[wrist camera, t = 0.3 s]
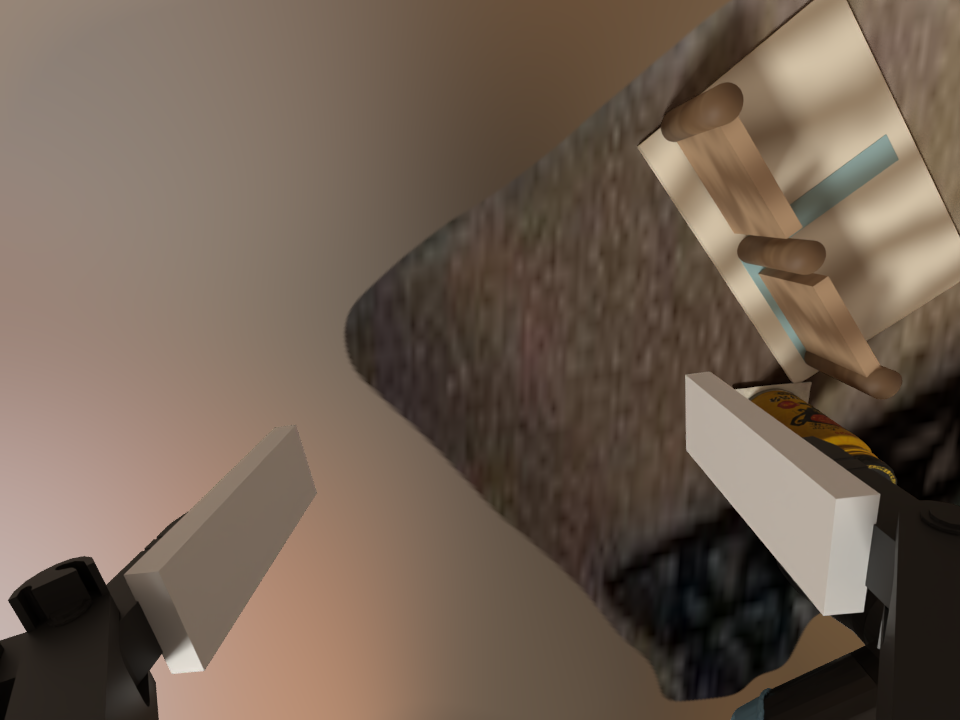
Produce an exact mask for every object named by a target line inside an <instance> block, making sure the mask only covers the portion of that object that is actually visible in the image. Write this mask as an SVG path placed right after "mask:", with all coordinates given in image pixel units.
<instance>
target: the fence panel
mask: <svg viewBox="0 0 960 720" xmlns="http://www.w3.org/2000/svg"><path fill="white" fill-rule="evenodd" d="M743 101H744V99H743V94H742V91H741V89H740V88H739V87H738V86H737V85H735V84H733V83H730V82H725V83H721V84H719V85H717V86H715V87H713V88H711V89H709V90H708V91H706V92H704V93H702V94H700V95H698V96H696V97H695V98H693V99H691V100H689V101H687V102H685V103H683V104H682V105H680V106H678V107H676V108H674V109H672V110H670V111H669V112H668V113H667V114H666V115H665V116H664V118H663V120H662V123H661V132H662V135H663V136H664V138H665V139H666V140H668V141H670V142H677V143H678V145H679V146H680V148H681V149H682V151H683V153H684V154H685V156H686V157H687V159H688V161H689V162H690V164H691V165H692V167H693V169H694V170H695V172H696V173H697V175H698V177H699V178H700V180H701V181H702V183H703V184H704V186H705V188H706V189H707V191H708V192H709V194H710V196H711V197H712V199H713V200H714V202H715V204H716V205H717V207H718V208H719V210H720V212H721V213H722V215H723V216H724V218H725V220H726V221H727V223H728V224H729V226H730V228H731V229H732V231H733V232H734V234H744V235H754V236H764V237H774V238H784V239H787V238H789V237H790V236H792V235H793V234H794V233H796V232H797V231H798V230H800V229H801V228H803V227H802V225H801V223H800V222H799V220H798V218H797V217H796V215H795V213H794V211H793V210H792V208H791V206H790V204H789V203H788V201H787V199H786V198H785V196H784V194H783V192H782V191H781V189H780V187H779V185H778V184H777V182H776V180H775V179H774V177H773V175H772V173H771V172H770V170H769V168H768V166H767V165H766V163H765V161H764V160H763V158H762V156H761V154H760V153H759V151H758V149H757V148H756V146H755V144H754V142H753V141H752V139H751V137H750V135H749V134H748V132H747V130H746V129H745V127H744V125H743V123H742V122H741V120H740V118H739V116H738V115H739V114H740V112H741V110H742V107H743Z"/></svg>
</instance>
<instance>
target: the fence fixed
mask: <svg viewBox="0 0 960 720" xmlns="http://www.w3.org/2000/svg"><path fill="white" fill-rule="evenodd" d="M737 254H738V257H739V258H740V260H741V261H743V262H745V263H748V264H753V265H758V266H763V267H767V268H765V269H764V270H762V271H761V272H760V273H758V274H759V276H760V277H761V279H762V281H763V282H764V284H765V285H766V287H767V289H768V290H769V292H770V293H771V295H772V297H773V298H774V300H775V301H776V303H777V304H778V306H779V308H780V309H781V311H782V312H783V314H784V316H785V317H786V319H787V320H788V322H789V324H790V325H791V327H792V328H793V330H794V332H795V333H796V335H797V336H798V338H799V339H800V341H801V343H802V344H803V346H804V347H805V349H806V353H805V356H804V360H805V362H806V364H807V365H808V366H810V367H813V368H815V369H817V370H819V371H821V372H823V373H825V374H827V375H829V376H831V377H833V378H835V379H837V380H839V381H841V382H843V383H845V384H847V385H849V386H851V387H854V388H856V389H858V390H860V391H862V392H864V393H866V394H868V395H870V396H872V397H874V398H876V399H887V398H889V397H891V396H893V395H894V394H896V393H897V392H898V391H899V389H900V387H901V385H902V377H901V375H900V374H899V373H898V372H896V371H893V370H891V369H888V368H886V367H883V366H881V365H880V364H879V362H878V361H877V359H876V357H875V355H874V354H873V352H872V350H871V349H870V347H869V345H868V343H867V342H866V340H865V338H864V337H863V335H862V333H861V331H860V330H859V328H858V326H857V325H856V323H855V321H854V319H853V318H852V316H851V314H850V312H849V311H848V309H847V307H846V306H845V304H844V302H843V300H842V299H841V297H840V295H839V294H838V292H837V290H836V288H835V287H834V285H833V283H832V282H831V280H830V278H829V276H825V275H820V274H815V273H814V272H815V271H817V270H818V269H819V268H820V267H821V266H822V265H823V263H824V261H825V258H826V250H825V247H824V246H823V244H822V243H820V242H818V241H814V240H804V239H794V238H787V239H784V238H774V237H764V236H754V235H750V236H748V237H746V238H744V239H743V240H742V241H741V242H740V244H739V246H738V249H737Z"/></svg>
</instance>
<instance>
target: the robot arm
mask: <svg viewBox="0 0 960 720" xmlns="http://www.w3.org/2000/svg"><path fill="white" fill-rule="evenodd" d="M685 380H686V450H687V451H688V453H689V454H690V455H691V456H692V457H693V459H694V460H695V461H696V462H697V463H698V465H699V466H700V467H701V468H702V470H703V471H704V472H705V473H706V474H707V476H708V477H709V478H710V479H711V480H712V482H713V483H714V484H715V485H716V486H717V488H718V489H719V490H720V491H721V493H722V494H723V495H724V496H725V497H726V499H727V500H728V501H729V502H730V503H731V505H732V506H733V507H734V508H735V509H736V511H737V512H738V513H739V514H740V515H741V517H742V518H743V519H744V520H745V522H746V523H747V524H748V525H749V526H750V528H751V529H752V530H753V531H754V532H755V534H756V535H757V536H758V537H759V538H760V540H761V541H762V542H763V543H764V545H765V546H766V547H767V548H768V549H769V551H770V552H771V553H772V554H773V555H774V557H775V558H776V561H777V565H778V567H779V569H780V571H781V572H782V574H783V575H784V576H785V577H786V579H787V580H788V581H789V582H790V584H791V585H792V586H793V587H794V588H795V590H796V591H797V592H798V593H799V594H800V595H802V596H803V597H804V598H805V599H807V600H808V601H810V602H811V603H813V604H814V605H815V606H816V607H817V609H818V610H819V611H820V612H821V613H822V615H823V616H825V615H830V616H832V617H833V618H834V619H836V620H837V621H839V622H841V623H842V624H843V625H845V626H846V627H848V628H849V629H851V630H852V631H853V632H854V633H855V634H856V635H857V636H858V637H859V638H860V639H861V640H862V642H863V643H864V644H865V646H863V647H861V648H859V649H857V650H855V651H853V652H851V653H848V654H846V655H844V656H842V657H840V658H838V659H835V660H833V661H831V662H829V663H827V664H825V665H823V666H820V667H818V668H816V669H814V670H812V671H810V672H807V673H805V674H803V675H801V676H799V677H797V678H795V679H792V680H790V681H788V682H786V683H784V684H782V685H780V686H777V687H775V688H773V689H770V688H767V689H765V690H763V692H762V693H761V695H760V696H759V697H757V698H755V699H754V700H752V701H750V702H748V703H746V704H745V705H743V706H741V707H739V708H738V709H737V710H736V711H735V712H734V713H733V715H732V718H731V720H960V506H957V505H954V504H950V503H946V502H939V501H932V500H918V499H916V498H915V497H913V496H912V495H910V494H909V493H907V492H906V491H904V490H903V489H901V488H900V487H898V486H897V485H895V484H894V483H892V482H891V481H889V480H888V479H886V478H885V477H883V476H882V475H880V474H879V473H877V472H876V471H874V470H873V469H869V467H868V466H867V465H865V464H864V463H862V462H861V461H860V460H858V459H854V456H852V455H851V454H849V453H848V452H846V451H845V450H843V449H842V448H840V447H839V446H837V445H835V444H832V443H830V442H827V441H824V440H822V439H819V438H817V437H814V436H810V437H800V436H799V435H797V434H796V433H794V432H793V431H792V430H790V429H789V428H787V427H786V426H785V425H783V424H782V423H781V422H779V421H778V420H776V419H775V418H774V417H772V416H771V415H769V414H768V413H767V412H765V411H764V410H762V409H761V408H760V407H758V406H757V405H755V404H754V403H753V402H751V401H750V400H749V399H747V398H746V397H744V396H743V395H742V394H740V393H739V392H737V391H736V390H735V389H733V388H732V387H730V386H729V385H728V384H726V383H725V382H723V381H722V380H721V379H719V378H718V377H717V376H715V375H714V374H712V373H711V372H703V373H695V374H687V375H685ZM316 493H317V492H316V489H315V485H314V482H313V479H312V476H311V472H310V469H309V466H308V462H307V460H306V456H305V453H304V449H303V446H302V443H301V440H300V436H299V433H298V430H297V427H296V425H291V426H283V427H275V428H274V429H273V430H272V431H271V432H270V433H269V434H268V435H267V436H266V437H265V438H264V439H263V440H262V441H261V442H260V443H258V444H257V445H256V446H255V447H254V448H253V449H252V450H251V451H250V452H249V453H248V454H247V455H246V456H245V457H244V458H243V459H242V460H241V461H240V462H239V463H238V464H237V465H236V466H235V467H234V468H233V469H232V470H231V471H230V472H229V473H228V474H227V475H226V476H225V477H224V478H223V479H221V481H219V482H218V484H216V485H215V486H214V487H213V488H212V489H211V490H210V491H209V492H208V493H207V494H206V495H205V496H204V497H203V498H202V499H201V500H200V501H199V502H198V503H197V504H196V505H195V506H194V507H193V508H192V509H191V510H190V511H189V512H187V513H185V514H184V515H182V516H181V517H179V518H178V519H176V520H175V521H173V522H172V523H171V524H170V525H169V526H167V527H166V528H165V529H164V530H163V531H162V532H161V533H160V534H159V535H158V536H157V539H154V540H153V541H152V542H151V543H150V544H149V545H148V546H147V547H146V548H145V551H142V552H140V553H139V554H138V555H137V556H136V557H135V558H134V559H133V560H132V561H131V562H130V563H129V564H128V565H127V566H126V567H125V568H124V569H122V570H121V571H120V572H119V573H118V574H117V575H116V576H115V577H114V578H113V579H112V580H111V581H110V582H109V583H108V584H107V585H106V584H105V582H104V580H103V578H102V576H101V574H100V572H99V570H98V568H97V566H96V564H95V562H94V560H93V559H92V557H85V556H84V557H78V558H72V559H69V560H66V561H64V562H61V563H58V564H56V565H54V566H52V567H50V568H48V569H46V570H44V571H42V572H40V573H38V574H37V575H35V576H34V577H32V578H31V579H29V580H27V581H26V582H25V583H24V584H22V585H21V586H20V587H19V588H18V589H16V590H15V591H14V593H13V594H12V595H11V597H10V598H9V600H8V601H9V603H10V605H11V606H12V608H13V609H14V611H15V613H16V615H17V616H18V618H19V620H20V621H21V623H22V625H23V626H24V628H25V630H26V631H27V632H25V633H23V634H19V635H16V636H13V637H10V638H7V639H4V640H1V641H0V720H159V718H158V706H157V693H156V682H155V680H154V678H153V676H152V674H151V672H150V669H151V668H152V666H153V665H154V664H155V662H156V661H157V660H158V658H159V657H160V655H161V654H162V655H163V657H164V659H165V661H166V663H167V665H168V667H169V669H170V671H171V673H172V674H174V673H186V672H197V671H205V669H206V667H207V666H208V664H209V663H210V661H211V660H212V658H213V656H214V655H215V653H216V652H217V650H218V648H219V647H220V645H221V644H222V642H223V641H224V639H225V637H226V636H227V634H228V632H229V631H230V630H231V628H232V626H233V625H234V623H235V622H236V620H237V618H238V617H239V615H240V614H241V612H242V611H243V609H244V607H245V606H246V604H247V603H248V601H249V599H250V598H251V596H252V595H253V593H254V592H255V590H256V588H257V587H258V585H259V584H260V582H261V581H262V579H263V577H264V576H265V574H266V573H267V571H268V569H269V568H270V566H271V565H272V563H273V562H274V560H275V558H276V557H277V555H278V554H279V552H280V550H281V549H282V547H283V546H284V544H285V543H286V541H287V539H288V538H289V536H290V535H291V533H292V531H293V530H294V528H295V527H296V525H297V524H298V522H299V520H300V519H301V517H302V516H303V514H304V512H305V511H306V509H307V508H308V506H309V504H310V503H311V501H312V500H313V498H314V497H315V495H316Z"/></svg>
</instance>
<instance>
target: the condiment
mask: <svg viewBox="0 0 960 720" xmlns="http://www.w3.org/2000/svg"><path fill="white" fill-rule="evenodd" d="M811 384H812V382H803V383H789V384H778V385H769V386H759V387H751V388H743V389H735V390H736V391H737V392H739V393H740V394H742V395H743V396H744V397H746V398H747V399H749V400H750V401H751V402H753V403H754V404H755V405H757V406H758V407H760V408H761V409H762V410H764V411H765V412H767V413H768V414H769V415H771V416H772V417H774V418H775V419H776V420H778V421H779V422H781V423H782V424H783V425H785V426H786V427H787V428H789V429H790V430H792V431H793V432H794V433H796V434H797V435H799V436H800V437H810V436H814V437H817V438H819V439H822V440H824V441H827V442H830V443H832V444H835V445H837V446H839V447H840V448H842V449H843V450H845V451H846V452H848V453H849V454H851V455H852V456H854V459H858V460H860V461H861V462H862V463H864V464H865V465H867V466H868V467H869V469H873V470H874V471H876V472H877V473H879V474H880V475H882V476H883V477H885V478H886V479H888V480H889V481H891V482H892V483H894V484H895V485H897V478H896V476H895V474H894V470H892V468H891V467H889V466H888V465H887V464H886V463H885V462H883V461H881V460H880V459H878V457H876V456H875V455H874V454H873V453H872V452H871V449H870V448H869V447H868V446H867V445H866V444H865V443H864V442H863V441H862V440H860V439H859V438H858V437H857V436H855V435H854V434H852V433H851V432H849V431H847V430H846V429H844V428H843V427H841V426H840V425H838V424H837V423H836V422H834V421H833V420H831V419H830V418H828V417H827V416H825V415H824V414H823V413H821V412H820V411H819V410H817V409H815V408H814V407H813V406H811V405H810V404H808V401H809V396H810V388H811Z"/></svg>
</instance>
